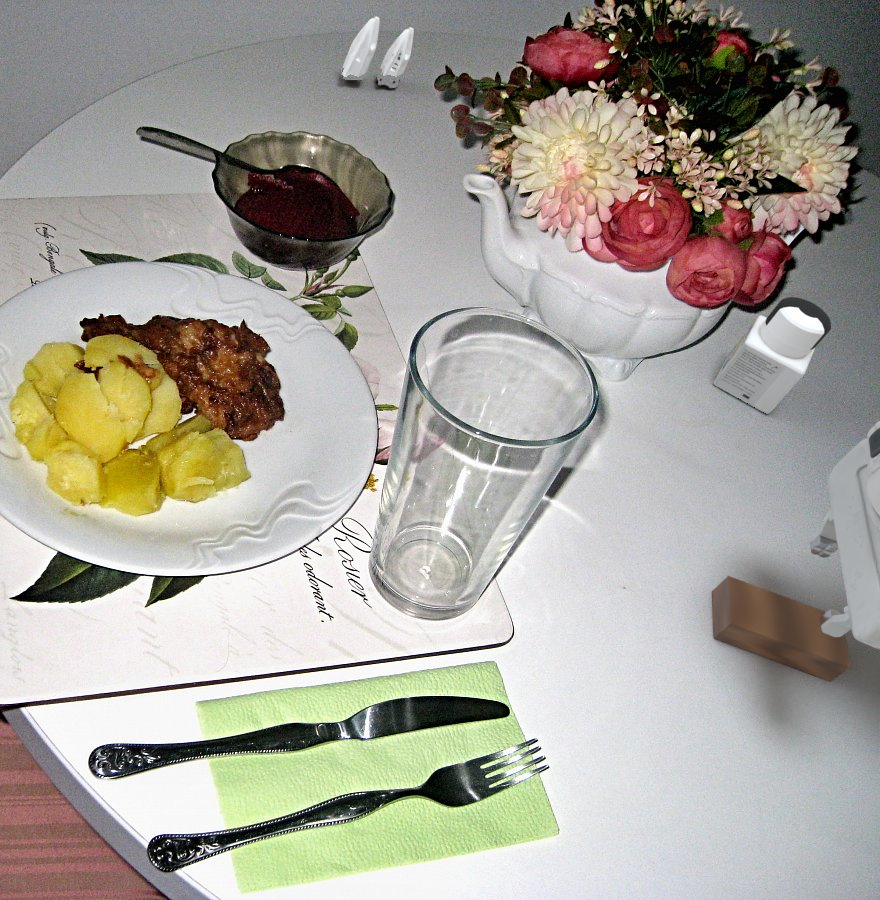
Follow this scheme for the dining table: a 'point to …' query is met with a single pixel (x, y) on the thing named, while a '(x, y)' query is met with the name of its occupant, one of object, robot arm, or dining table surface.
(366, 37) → the shaker set
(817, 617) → the wooden brick
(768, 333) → the container
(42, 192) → the dining table surface
